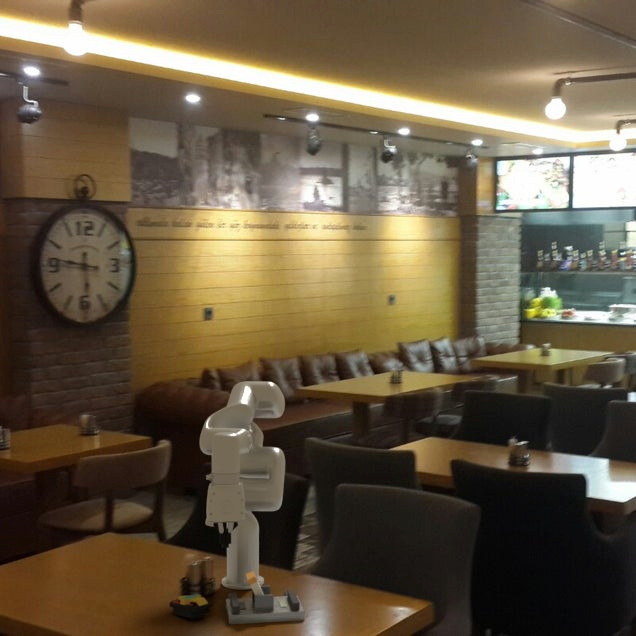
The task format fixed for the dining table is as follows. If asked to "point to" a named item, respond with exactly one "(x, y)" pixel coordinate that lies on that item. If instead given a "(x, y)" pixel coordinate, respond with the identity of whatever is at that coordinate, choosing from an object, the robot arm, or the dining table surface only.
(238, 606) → the pair of grey posts
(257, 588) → the lever
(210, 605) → the black basket
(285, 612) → the panel
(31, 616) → the dining table surface
